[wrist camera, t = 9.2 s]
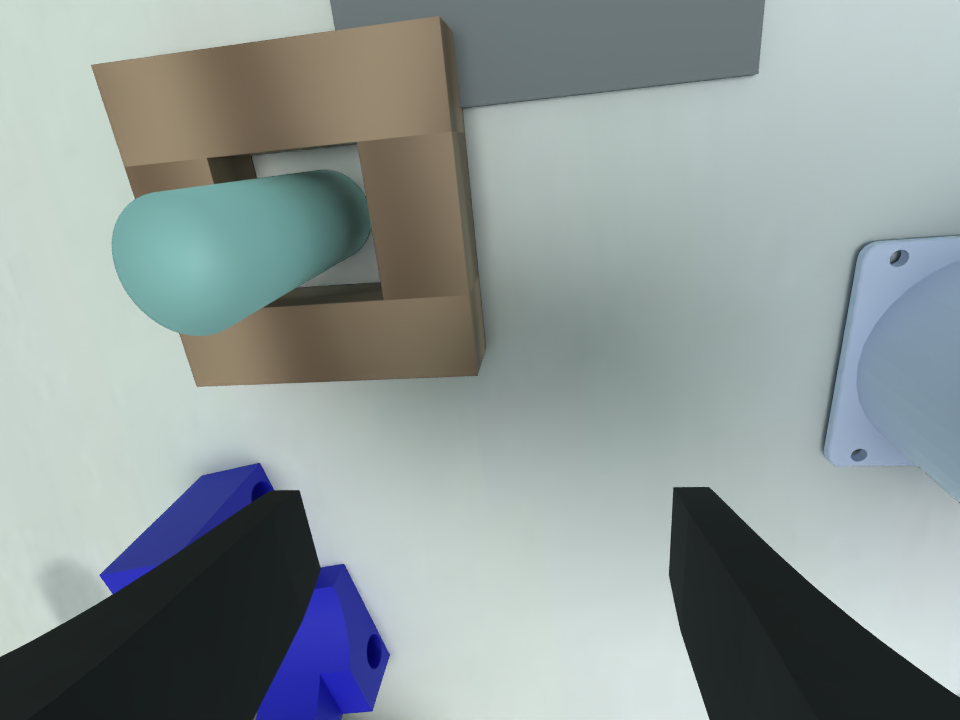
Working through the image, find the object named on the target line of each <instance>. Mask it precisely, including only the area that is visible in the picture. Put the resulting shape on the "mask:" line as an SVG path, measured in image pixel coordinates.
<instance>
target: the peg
mask: <svg viewBox="0 0 960 720" xmlns="http://www.w3.org/2000/svg"><path fill="white" fill-rule="evenodd" d="M370 228H371V222H370V216H369V210H368V204H367V200H366V197H365V196H364V194H363V192H362V191H361V189H360V188H359V187H358V186H357V185H356V184H355V183H354V182H353V181H352V180H351V179H349V178H348V177H346V176H345V175H343V174H341V173H338V172H335V171H330V170H316V171H309V172H302V173H294V174H287V175H279V176H272V177H264V178H257V179H249V180H242V181H235V182H227V183H220V184H212V185H205V186H197V187H190V188H182V189H175V190H168V191H160V192H153V193H149V194H145V195H143V196H141V197H139V198H136V199H135V200H134V201H132V202H131V203H129V204H128V205H127V206H126V207H125V208H124V210H123V211H122V213H121V214H120V215H119V217H118V219H117V221H116V224H115V227H114V230H113V236H112V255H113V261H114V265H115V269H116V272H117V274H118V277H119V279H120V281H121V283H122V285H123V287H124V289H125V291H126V292H127V294H128V295H129V297H130V298H131V299H132V300H133V302H134V303H135V304H136V305H137V306H138V307H139V308H140V309H141V310H142V311H143V312H144V313H145V314H146V315H147V316H148V317H150V318H151V319H152V320H154V321H155V322H157V323H158V324H160V325H162V326H164V327H165V328H168V329H170V330H172V331H175V332H178V333H181V334H186V335H191V336H207V335H212V334H216V333H219V332H221V331H224V330H225V329H227V328H229V327H231V326H232V325H234V324H236V323H237V322H239V321H241V320H242V319H244V318H246V317H248V316H249V315H251V314H253V313H254V312H256V311H258V310H259V309H261V308H263V307H264V306H266V305H268V304H270V303H271V302H273V301H275V300H276V299H278V298H280V297H281V296H283V295H285V294H286V293H288V292H290V291H292V290H293V289H295V288H297V287H298V286H300V285H302V284H303V283H305V282H307V281H308V280H310V279H312V278H314V277H315V276H317V275H319V274H320V273H322V272H324V271H325V270H327V269H329V268H331V267H332V266H334V265H336V264H337V263H339V262H341V261H342V260H344V259H346V258H347V257H349V256H351V255H353V254H354V253H356V252H357V251H358V250H359V249H360V248H361V247H362V246H363V245H364V243H365V242H366V240H367V238H368V235H369V232H370Z"/></svg>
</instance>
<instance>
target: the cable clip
mask: <svg viewBox="0 0 960 720" xmlns="http://www.w3.org/2000/svg"><path fill="white" fill-rule="evenodd" d="M270 491H274V489H273V487H272V485H271V483H270V481H269V479H268V477H267V476H266V474H265V472H264V470H263V468H262V466H261V464H260V463H257V464H253V465H248V466H244V467H239V468H234V469H230V470H225V471H221V472H216V473H212V474H207V475H203V476H201V477H200V478H199V479H198V480H197V481H196V482H195V483H194V484H193V485H192V486H191V487H190V488H189V489H188V490H187V491H186V492H185V493H184V494H183V495H181V496H180V497H179V498H178V499H177V500H176V501H175V502H174V503H173V504H172V505H171V506H170V507H169V508H168V509H167V510H166V511H165V512H164V513H163V514H162V515H161V516H160V517H159V518H158V519H157V520H156V521H155V522H154V523H153V524H152V525H151V526H150V527H148V528H147V529H146V530H145V531H144V532H143V533H142V534H141V535H140V536H139V537H138V538H137V539H136V540H135V541H134V542H133V543H132V544H131V545H130V546H129V547H128V548H127V549H126V550H125V551H124V552H123V553H122V554H121V555H120V556H119V557H118V558H117V559H116V560H114V561H113V562H112V563H111V564H110V565H109V566H108V567H107V568H106V569H105V570H104V571H103V572H102V573H101V574H100V577H101V578H102V580H103V581H104V582H105V584H106V585H107V587H108V588H109V589H110V591H111V592H112V594H114V593H116V592H117V591H119V590H121V589H122V588H124V587H125V586H127V585H128V584H130V583H131V582H133V581H135V580H136V579H138V578H139V577H141V576H142V575H144V574H146V573H147V572H149V571H150V570H152V569H153V568H155V567H156V566H158V565H160V564H161V563H163V562H164V561H166V560H167V559H169V558H170V557H172V556H173V555H175V554H176V553H178V552H179V551H181V550H182V549H184V548H185V547H187V546H188V545H190V544H191V543H192V542H194V541H195V540H197V539H198V538H200V537H201V536H203V535H204V534H206V533H207V532H209V531H210V530H212V529H213V528H214V527H216V526H217V525H219V524H220V523H222V522H223V521H225V520H226V519H228V518H229V517H230V516H232V515H233V514H235V513H236V512H238V511H239V510H241V509H242V508H244V507H245V506H247V505H248V504H250V503H251V502H253V501H255V500H256V499H258V498H259V497H261V496H263V495H264V494H266V493H268V492H270ZM389 656H390V655H389V653H388V651H387V649H386V647H385V645H384V643H383V641H382V639H381V637H380V635H379V633H378V631H377V629H376V627H375V625H374V623H373V621H372V619H371V617H370V615H369V613H368V611H367V609H366V607H365V605H364V603H363V601H362V599H361V597H360V595H359V593H358V591H357V589H356V587H355V585H354V583H353V581H352V579H351V577H350V575H349V573H348V571H347V569H346V567H345V565H344V564H340V565H334V566H328V567H322V568H321V571H320V574H319V576H318V579H317V582H316V585H315V588H314V591H313V594H312V597H311V600H310V603H309V605H308V608H307V611H306V613H305V616H304V619H303V621H302V623H301V625H300V627H299V629H298V631H297V633H296V635H295V637H294V639H293V641H292V643H291V646H290V648H289V650H288V652H287V654H286V656H285V658H284V660H283V662H282V664H281V666H280V668H279V669H278V671H277V673H276V675H275V677H274V679H273V681H272V683H271V685H270V687H269V689H268V691H267V693H266V695H265V697H264V699H263V701H262V703H261V705H260V707H259V709H258V711H257V716H256V720H341V718H342V715H343V714H347V713H358V712H369V711H373V708H374V704H375V701H376V698H377V695H378V691H379V688H380V685H381V682H382V678H383V675H384V672H385V669H386V665H387V662H388V659H389Z"/></svg>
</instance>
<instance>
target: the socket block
mask: <svg viewBox="0 0 960 720" xmlns="http://www.w3.org/2000/svg"><path fill="white" fill-rule="evenodd" d="M91 67H92V70H93V73H94V76H95V79H96V82H97V85H98V88H99V91H100V94H101V97H102V100H103V103H104V106H105V109H106V112H107V115H108V118H109V121H110V124H111V127H112V130H113V133H114V137H115V140H116V143H117V146H118V149H119V152H120V155H121V158H122V161H123V164H124V167H125V170H126V173H127V176H128V179H129V182H130V185H131V188H132V191H133V194H134V197H135V199H136V198H139V197H141V196H143V195H145V194H149V193H153V192H160V191H168V190H175V189H182V188H190V187H197V186H205V185H212V184H220V183H227V182H235V181H242V180H249V179H256V175H255V171H254V167H253V162H252V158H251V156H252V155H261V154H270V153H280V152H289V151H298V150H308V149H317V148H326V147H336V146H345V145H354V144H357V145H358V151H359V157H360V163H361V169H362V175H363V181H364V187H365V193H366V198H367V204H368V210H369V216H370V222H371V228H372V234H373V240H374V246H375V252H376V257H377V263H378V269H379V275H380V281H381V282H377V283H362V284H347V285H332V286H317V287H303V288H295V289H293V290H292V291H290V292H288V293H286V294H285V295H283V296H281V297H280V298H278V299H276V300H275V301H273V302H271V303H270V304H268V305H266V306H264V307H263V308H261V309H259V310H258V311H256V312H254V313H253V314H251V315H249V316H248V317H246V318H244V319H242V320H241V321H239V322H237V323H236V324H234V325H232V326H231V327H229V328H227V329H225V330H224V331H221V332H219V333H216V334H212V335H207V336H191V335H186V334H181V333H179V334H180V337H181V340H182V343H183V346H184V349H185V353H186V356H187V359H188V362H189V365H190V368H191V371H192V374H193V377H194V380H195V383H196V386H197V387H203V386H228V385H254V384H279V383H305V382H330V381H356V380H381V379H407V378H432V377H458V376H478V372H479V369H480V365H481V362H482V359H483V355H484V352H485V348H486V346H485V335H484V325H483V315H482V305H481V294H480V284H479V274H478V264H477V253H476V243H475V233H474V223H473V213H472V202H471V192H470V182H469V172H468V161H467V151H466V141H465V131H464V120H463V110H462V108H460V99H459V89H458V78H457V68H456V58H455V48H454V38H453V31H452V30H451V29H450V28H449V27H448V25H447V24H446V23H445V22H444V21H443V20H442V18H441V17H440V16H435V17H428V18H421V19H414V20H407V21H399V22H392V23H385V24H378V25H371V26H364V27H357V28H350V29H343V30H336V31H328V32H321V33H314V34H307V35H300V36H293V37H286V38H279V39H272V40H265V41H257V42H250V43H243V44H236V45H229V46H222V47H215V48H208V49H201V50H193V51H186V52H179V53H172V54H165V55H158V56H151V57H144V58H137V59H130V60H122V61H115V62H108V63H101V64H94V65H91Z"/></svg>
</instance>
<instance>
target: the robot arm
mask: <svg viewBox="0 0 960 720" xmlns="http://www.w3.org/2000/svg"><path fill="white" fill-rule="evenodd" d="M898 250H900V251H901V257H900V259H899V260H898V261H897V262H895V263H893V264H890V258H891V255H892V254H893V253H894V252H896V251H898ZM857 449H861V450H860V452H859V453H858V454H856V455H851V454H852V452H853V451H855V450H857ZM824 455H825V457H826V458H827V460H828V461H829V462H830V463H831V464H833V465H835V466H840V467H846V466H918V467H919V468H920V469H922V470H923V471H924V472H925V473H926V474H927V475H928V476H930V477H931V478H932V479H933V480H934V481H935V482H936V483H937V484H939V485H940V486H941V487H942V488H943V489H944V490H945V491H947V492H948V493H949V494H950V495H951V496H952V497H953V498H954V499H956V500H957V501H958V502H959V503H960V236H945V237H931V238H916V239H902V240H887V241H876V242H872V243H870V244H868V245H867V246H865V247H864V248H863V249H862V250H861V251H860V253H859V255H858V258H857V263H856V269H855V275H854V280H853V286H852V292H851V298H850V303H849V309H848V315H847V320H846V326H845V332H844V338H843V343H842V349H841V355H840V361H839V366H838V372H837V378H836V383H835V389H834V395H833V401H832V406H831V412H830V418H829V423H828V429H827V435H826V441H825V446H824ZM320 571H321V568H320V565H319V561H318V557H317V554H316V550H315V546H314V543H313V539H312V535H311V531H310V528H309V524H308V520H307V517H306V513H305V509H304V505H303V502H302V498H301V494H300V491H299V490H276V491H270V492H268V493H266V494H264V495H263V496H261V497H259V498H258V499H256V500H255V501H253V502H251V503H250V504H248V505H247V506H245V507H244V508H242V509H241V510H239V511H238V512H236V513H235V514H233V515H232V516H230V517H229V518H228V519H226V520H225V521H223V522H222V523H220V524H219V525H217V526H216V527H214V528H213V529H212V530H210V531H209V532H207V533H206V534H204V535H203V536H201V537H200V538H198V539H197V540H195V541H194V542H192V543H191V544H190V545H188V546H187V547H185V548H184V549H182V550H181V551H179V552H178V553H176V554H175V555H173V556H172V557H170V558H169V559H167V560H166V561H164V562H163V563H161V564H160V565H158V566H156V567H155V568H153V569H152V570H150V571H149V572H147V573H146V574H144V575H142V576H141V577H139V578H138V579H136V580H135V581H133V582H131V583H130V584H128V585H127V586H125V587H124V588H122V589H121V590H119V591H117V592H116V593H114V594H113V595H111V596H110V597H108V598H106V599H105V600H103V601H101V602H100V603H98V604H96V605H95V606H93V607H91V608H90V609H88V610H86V611H84V612H83V613H81V614H79V615H78V616H76V617H74V618H72V619H71V620H69V621H67V622H65V623H63V624H62V625H60V626H58V627H56V628H54V629H53V630H51V631H49V632H47V633H45V634H44V635H42V636H40V637H38V638H36V639H34V640H33V641H31V642H29V643H27V644H25V645H23V646H21V647H19V648H17V649H15V650H13V651H11V652H9V653H7V654H5V655H3V656H1V657H0V720H253V719H254V717H255V715H256V713H257V711H258V709H259V707H260V705H261V703H262V701H263V699H264V697H265V695H266V693H267V691H268V689H269V687H270V685H271V683H272V681H273V679H274V677H275V675H276V673H277V671H278V669H279V668H280V666H281V664H282V662H283V660H284V658H285V656H286V654H287V652H288V650H289V648H290V646H291V643H292V641H293V639H294V637H295V635H296V633H297V631H298V629H299V627H300V625H301V623H302V621H303V619H304V616H305V613H306V611H307V608H308V605H309V603H310V600H311V597H312V594H313V591H314V588H315V585H316V582H317V579H318V576H319V574H320ZM669 578H670V583H671V588H672V592H673V597H674V602H675V607H676V612H677V616H678V621H679V626H680V630H681V634H682V637H683V640H684V643H685V646H686V649H687V652H688V655H689V658H690V661H691V665H692V668H693V671H694V674H695V677H696V680H697V683H698V686H699V689H700V692H701V695H702V698H703V701H704V704H705V707H706V710H707V713H708V716H709V719H710V720H960V697H958V696H957V695H955V694H954V693H952V692H951V691H949V690H948V689H946V688H945V687H944V686H942V685H941V684H939V683H938V682H936V681H935V680H934V679H932V678H931V677H930V676H928V675H927V674H925V673H924V672H923V671H921V670H920V669H919V668H917V667H916V666H914V665H913V664H912V663H910V662H909V661H908V660H906V659H905V658H904V657H902V656H901V655H899V654H898V653H897V652H895V651H894V650H893V649H891V648H890V647H889V646H887V645H886V644H884V643H883V642H882V641H880V640H879V639H878V638H877V637H875V636H874V635H873V634H871V633H870V632H869V631H868V630H866V629H865V628H864V627H862V626H861V625H860V624H859V623H857V622H856V621H855V620H854V619H852V618H851V617H850V616H849V615H848V614H846V613H845V612H844V611H843V610H842V609H840V608H839V607H838V606H837V605H836V604H834V603H833V602H832V601H831V600H829V599H828V598H827V597H826V596H825V595H823V594H822V593H821V592H820V591H819V590H818V589H816V588H815V587H814V586H813V585H812V584H811V583H809V582H808V581H807V580H806V579H805V578H804V577H803V576H802V575H801V574H799V573H798V572H797V571H796V570H795V569H794V568H793V567H792V566H791V565H790V564H788V563H787V562H786V561H785V560H784V559H783V558H782V557H781V556H780V555H779V554H778V553H776V552H775V551H774V550H773V549H772V548H771V547H770V546H769V545H768V544H767V543H766V542H765V541H764V540H763V539H762V538H761V537H760V536H759V535H757V534H756V533H755V532H754V531H753V530H752V529H751V528H750V527H749V526H748V525H747V524H746V523H745V522H744V521H743V520H742V519H741V518H740V517H739V516H738V515H737V514H736V513H735V512H734V511H733V510H732V509H731V508H730V507H729V506H728V505H727V504H726V503H725V502H724V501H723V500H722V499H721V498H720V497H719V496H718V495H717V494H716V493H715V492H714V491H713V490H712V489H711V488H709V487H673V507H672V526H671V545H670V565H669Z"/></svg>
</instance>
